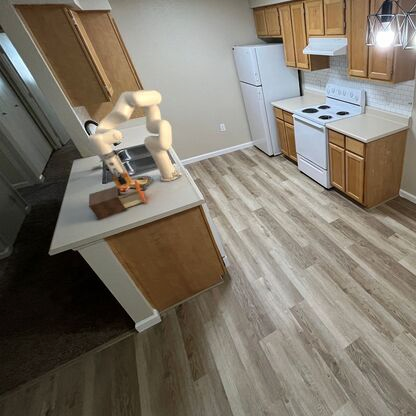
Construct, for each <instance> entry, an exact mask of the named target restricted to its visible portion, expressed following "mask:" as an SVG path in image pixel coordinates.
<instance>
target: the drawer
mask: <svg viewBox="0 0 416 416" xmlns="http://www.w3.org/2000/svg"><path fill="white" fill-rule="evenodd" d="M134 182H135V186H136V189H137V191H134V192H131V193H128V194H122V195H121V196H118V198H119V199H120V201H121V202H122V204H123V205H124V207H125V208H126V209H127V208H129V207H132V206H135V205H138V204H142V203H143V204H146V203H147V200H146V198H145V194H144V192H145V191H146V190H147V189H146V186H144V185H142V186H139V184H138V182H137V181H136V180H135V181H134ZM141 187H142V188H141Z"/></svg>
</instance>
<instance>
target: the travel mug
mask: <svg viewBox="0 0 416 416" xmlns="http://www.w3.org/2000/svg"><path fill="white" fill-rule="evenodd" d="M112 150H113V149H112ZM113 152H114V153H115V155H116V156H115V158H116V159H117V161H118V163H119V164H120V166H121V167H122V170H123V173H122V174H124V173H127V174H128V175H129V172H128V170H127V168H126V167H125V165H124V164H123V162H122V160H121V158H120V156H119V155H118V153H117V151H116V150H115V149H114V150H113Z"/></svg>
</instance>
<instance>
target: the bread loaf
mask: <svg viewBox="0 0 416 416" xmlns="http://www.w3.org/2000/svg"><path fill="white" fill-rule="evenodd" d="M121 175H122V176H123V177H124V179H125V180H126V182H127V183H126V184H123V185H121V184H120V182H119V181H118V179H117V177H116V175H113V176H112V177H111V179H112V180H113V183H114V184H115V185H116V186H117V187H121V186H124V185H127V184H130V183H132V180H131V178H132V177H131V176H130V175H129V173H128V174H127V173H124V174H121ZM121 175H120V176H121Z"/></svg>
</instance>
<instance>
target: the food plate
mask: <svg viewBox="0 0 416 416" xmlns="http://www.w3.org/2000/svg"><path fill="white" fill-rule="evenodd" d="M130 178H131V180H132V183H130V184H127V185H124V186H121V187H117V188H118V190H119V191H120V193H121V194H122V195H125V194H128V193H131V192H134V191H137V189H136V186H135V182H134V181H135V180H136V181H137V182H138V184H139V186H142V185H144V186H145V187H146V186H148V185H149V184H150V183H151V182H152V181H153V177H152V176H150V175H137V176H134V177H130ZM115 186H116V184H115V185H114V186H113V187H115ZM141 189H143V188H142V187H141Z"/></svg>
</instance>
